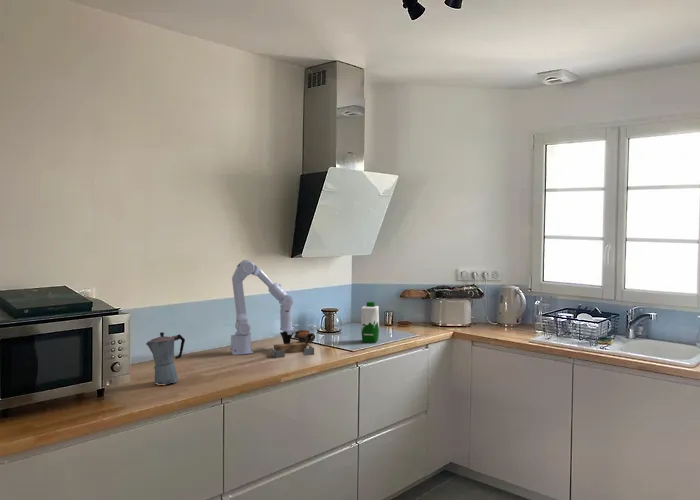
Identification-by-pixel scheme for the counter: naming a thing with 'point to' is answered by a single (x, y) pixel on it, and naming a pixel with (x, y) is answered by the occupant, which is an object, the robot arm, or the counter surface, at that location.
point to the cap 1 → (278, 353)
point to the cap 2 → (309, 350)
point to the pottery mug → (304, 337)
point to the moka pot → (165, 358)
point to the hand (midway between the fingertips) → (286, 346)
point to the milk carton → (370, 323)
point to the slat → (291, 347)
